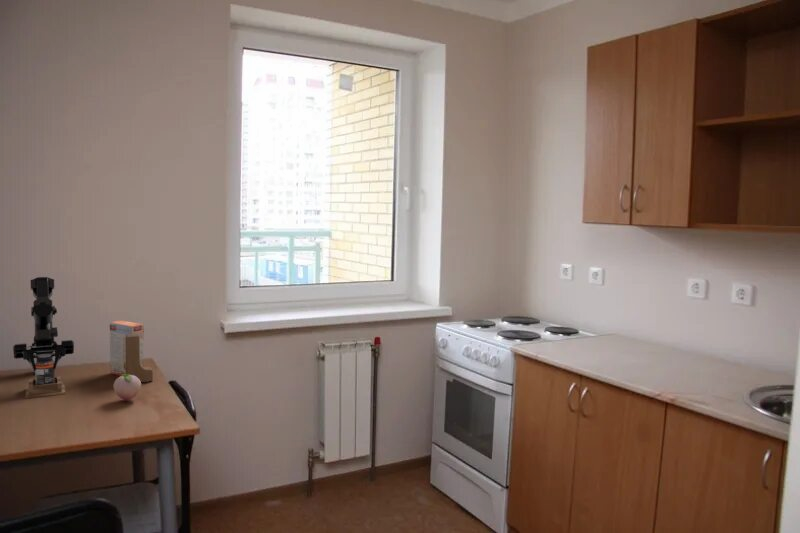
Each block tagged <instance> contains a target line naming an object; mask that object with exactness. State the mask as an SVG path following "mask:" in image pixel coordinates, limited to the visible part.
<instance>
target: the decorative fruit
mask: <svg viewBox="0 0 800 533" xmlns="http://www.w3.org/2000/svg"><path fill="white" fill-rule="evenodd" d="M112 386H113V390H114V392H115V394H116V396H118V398H120V399H122V400H124V401H126V402H128V401H130V400H132V399H134V398H136V396H137V395H138V394H139V393H140V391H141V390H142V383H141V381H140V380H139V379H138V378H137V377H136V376H134V375H129V374H127V372H126V374H122V375H121V376H119V377H117V378H116V379H115V381H114V383H113V385H112Z"/></svg>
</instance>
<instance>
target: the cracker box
mask: <svg viewBox="0 0 800 533" xmlns="http://www.w3.org/2000/svg"><path fill="white" fill-rule="evenodd" d="M144 332H145V329H144V324H143V323H138V322H133V321H125V320H115V321H110V322H109V364H110V368H109V371H110V372H109V373H110V374H112V375H115V376H119V377H120V376H121V375H122V374H126V335H131V334H138V335H139V343H140V364H141V365H142V366H143V367H145V352H144V351H145V348H144V346H145V342H144V341H145V336H144V335H145V333H144Z"/></svg>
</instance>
